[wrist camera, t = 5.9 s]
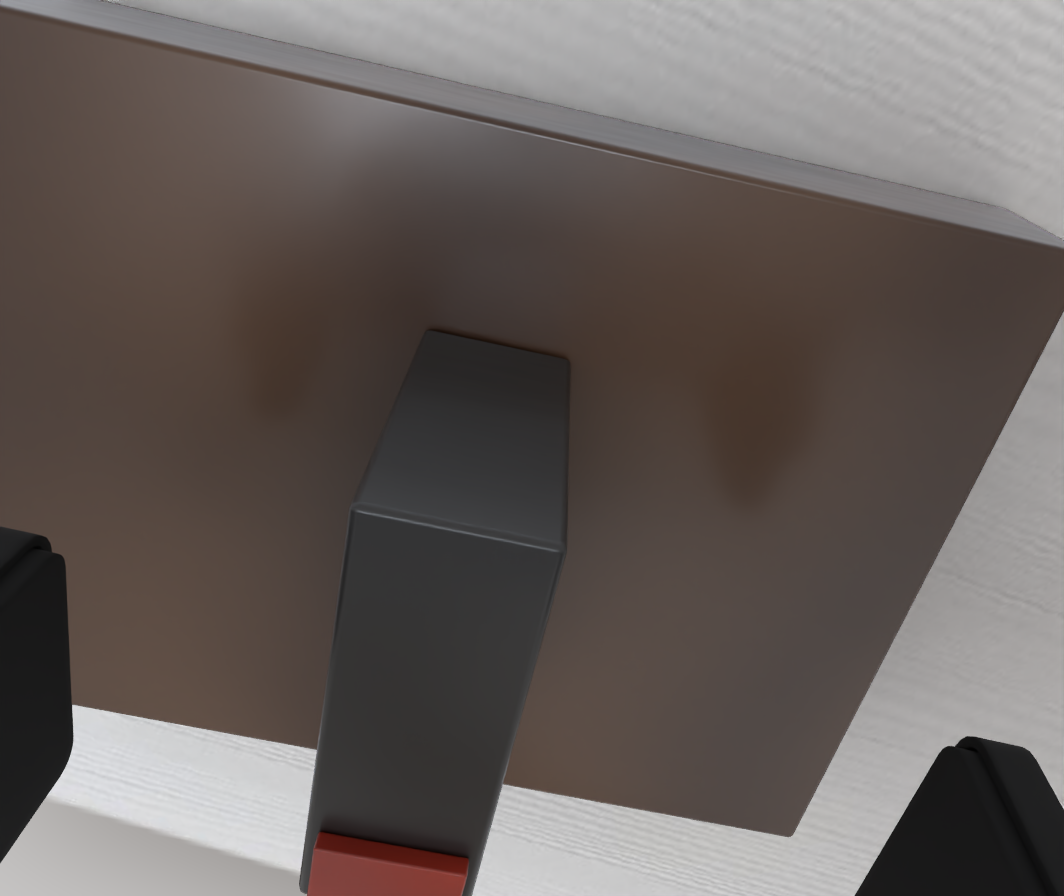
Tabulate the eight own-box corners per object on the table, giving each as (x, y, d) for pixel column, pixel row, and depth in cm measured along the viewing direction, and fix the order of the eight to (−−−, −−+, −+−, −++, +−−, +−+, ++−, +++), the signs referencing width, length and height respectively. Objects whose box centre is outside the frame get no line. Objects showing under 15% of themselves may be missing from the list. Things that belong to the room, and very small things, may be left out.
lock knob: (425, 326, 12) (341, 519, 8) (572, 357, 12) (568, 564, 8) (374, 642, 14) (290, 915, 10) (495, 665, 15) (461, 944, 10)
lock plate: (1010, 208, 13) (1096, 255, 11) (767, 736, 18) (792, 840, 16) (58, -11, 13) (-54, -7, 10) (80, 604, 18) (9, 695, 15)
